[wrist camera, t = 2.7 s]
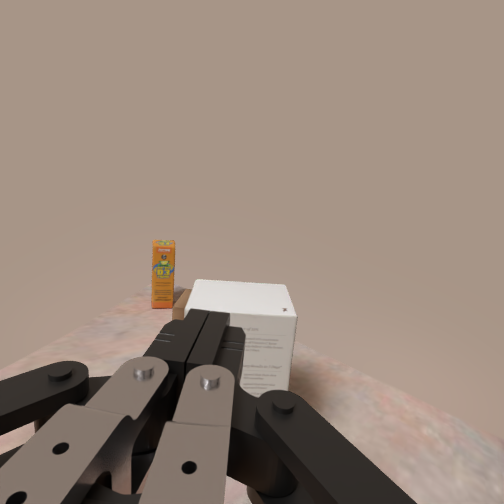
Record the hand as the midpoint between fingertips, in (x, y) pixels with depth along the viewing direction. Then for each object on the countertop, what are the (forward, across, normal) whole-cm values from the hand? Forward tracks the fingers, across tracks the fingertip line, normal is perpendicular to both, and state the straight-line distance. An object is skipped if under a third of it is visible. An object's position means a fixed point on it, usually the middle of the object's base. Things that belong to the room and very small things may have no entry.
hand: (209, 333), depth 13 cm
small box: (+14, 0, +17) cm, 22 cm away
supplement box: (+37, +14, +17) cm, 43 cm away
